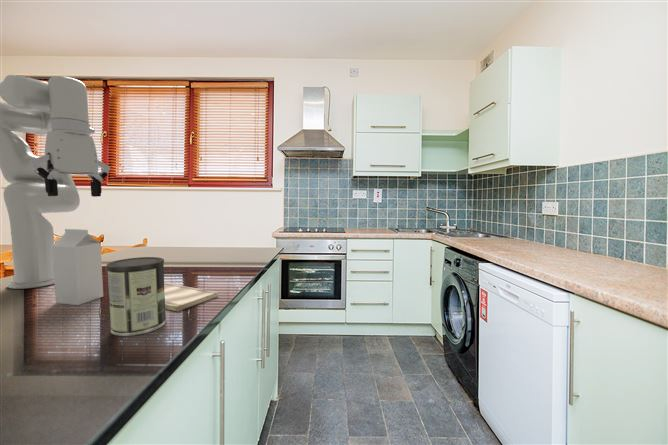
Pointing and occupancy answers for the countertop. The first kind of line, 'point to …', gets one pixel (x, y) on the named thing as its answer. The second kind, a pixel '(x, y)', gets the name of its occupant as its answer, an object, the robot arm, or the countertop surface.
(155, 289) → the coffee can
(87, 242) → the milk carton
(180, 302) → the beech board
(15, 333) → the countertop surface
